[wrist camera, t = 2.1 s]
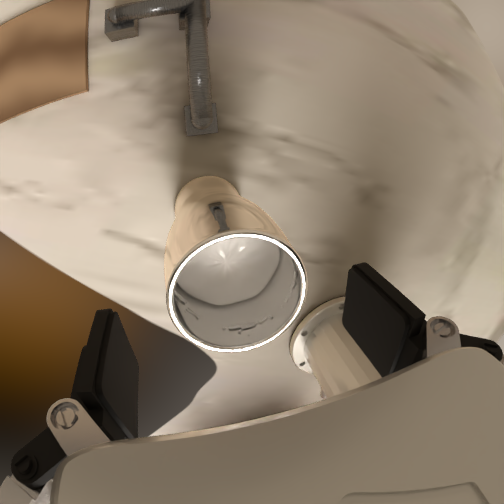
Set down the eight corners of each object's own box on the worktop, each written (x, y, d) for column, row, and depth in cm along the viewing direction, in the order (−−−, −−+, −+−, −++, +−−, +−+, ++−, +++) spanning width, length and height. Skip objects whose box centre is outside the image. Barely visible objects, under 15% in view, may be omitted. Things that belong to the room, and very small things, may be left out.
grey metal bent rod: (214, 132, 24) (220, 132, 20) (118, 147, 22) (106, 151, 18) (206, 6, 18) (211, -14, 14) (112, 19, 17) (101, 3, 13)
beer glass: (216, 256, 28) (252, 371, 15) (155, 219, 25) (134, 321, 12) (260, 198, 27) (339, 275, 14) (199, 155, 24) (223, 191, 11)
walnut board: (88, 91, 19) (85, 90, 18) (-6, 126, 17) (-10, 126, 16) (90, -9, 14) (88, -12, 14) (-3, 31, 12) (-7, 29, 12)
